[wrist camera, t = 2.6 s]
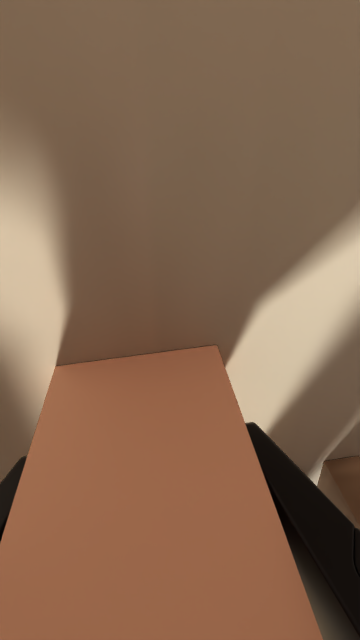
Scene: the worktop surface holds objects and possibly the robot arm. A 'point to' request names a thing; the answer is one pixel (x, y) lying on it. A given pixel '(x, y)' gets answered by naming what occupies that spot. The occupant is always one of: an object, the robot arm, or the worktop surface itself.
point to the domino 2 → (343, 486)
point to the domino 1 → (147, 513)
